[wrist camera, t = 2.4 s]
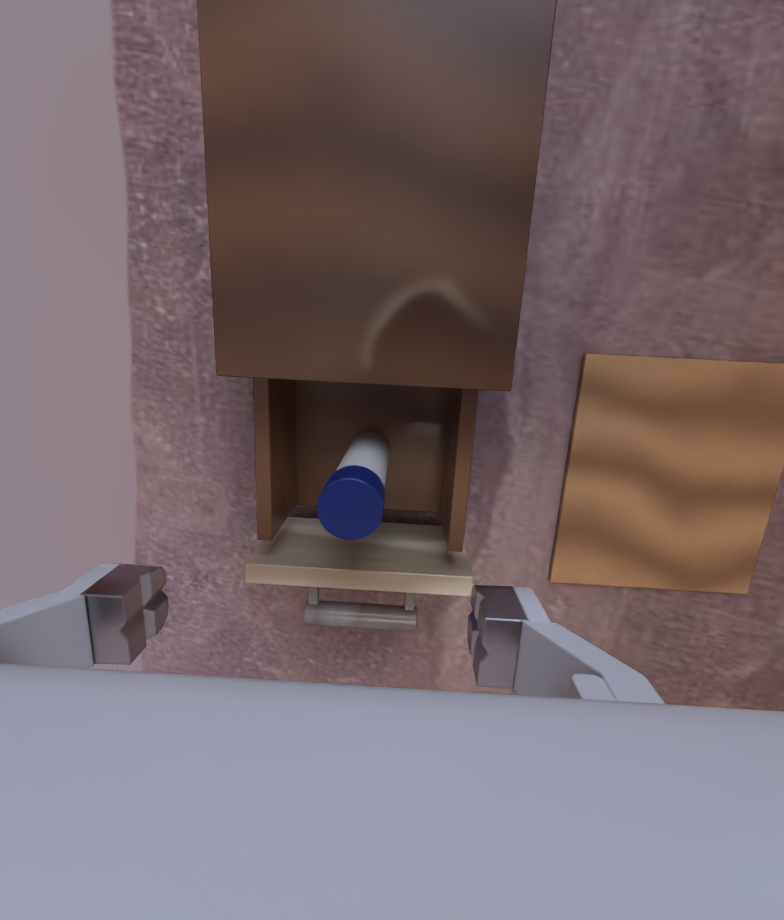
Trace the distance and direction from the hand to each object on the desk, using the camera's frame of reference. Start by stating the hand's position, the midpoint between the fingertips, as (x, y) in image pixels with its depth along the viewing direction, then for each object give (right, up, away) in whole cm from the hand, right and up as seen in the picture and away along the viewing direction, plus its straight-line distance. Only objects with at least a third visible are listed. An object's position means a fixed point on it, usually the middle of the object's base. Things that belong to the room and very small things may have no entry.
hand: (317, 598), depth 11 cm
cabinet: (+1, +18, +15) cm, 23 cm away
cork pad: (+21, +2, +18) cm, 28 cm away
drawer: (+1, +4, +17) cm, 18 cm away
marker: (+1, +4, +16) cm, 17 cm away
